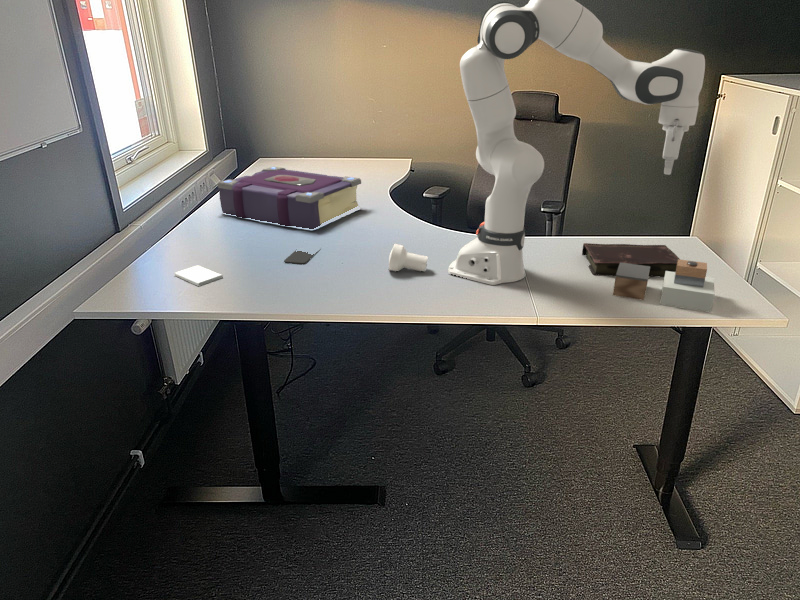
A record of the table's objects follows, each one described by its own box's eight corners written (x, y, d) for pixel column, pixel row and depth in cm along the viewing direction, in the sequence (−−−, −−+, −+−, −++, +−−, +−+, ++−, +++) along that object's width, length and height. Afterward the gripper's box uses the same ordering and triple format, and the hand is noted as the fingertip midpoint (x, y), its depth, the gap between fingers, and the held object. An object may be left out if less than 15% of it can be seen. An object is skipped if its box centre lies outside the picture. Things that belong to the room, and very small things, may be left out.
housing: (703, 287, 156) (707, 268, 154) (673, 283, 159) (677, 264, 157) (703, 280, 161) (707, 261, 158) (674, 276, 163) (678, 257, 161)
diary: (581, 256, 194) (583, 241, 192) (662, 258, 192) (664, 243, 190) (593, 278, 177) (595, 261, 175) (681, 280, 175) (685, 264, 173)
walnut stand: (612, 295, 164) (615, 274, 162) (616, 282, 173) (619, 262, 170) (644, 300, 161) (647, 279, 159) (646, 286, 170) (650, 266, 167)
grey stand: (659, 304, 159) (663, 286, 157) (662, 287, 169) (665, 270, 167) (710, 312, 155) (714, 294, 153) (709, 294, 165) (713, 277, 162)
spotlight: (389, 260, 186) (393, 238, 181) (425, 268, 186) (431, 246, 181) (385, 274, 179) (389, 252, 175) (422, 283, 179) (428, 260, 175)
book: (310, 234, 214) (307, 195, 208) (217, 216, 235) (212, 180, 229) (362, 210, 240) (361, 175, 234) (274, 196, 261) (271, 163, 255)
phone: (321, 247, 200) (305, 263, 186) (322, 249, 200) (305, 265, 187) (300, 245, 201) (282, 261, 188) (300, 248, 202) (282, 263, 188)
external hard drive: (198, 288, 172) (174, 277, 179) (223, 279, 178) (199, 269, 185) (197, 283, 171) (174, 272, 179) (222, 274, 177) (198, 264, 184)
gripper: (690, 123, 147) (679, 179, 153) (691, 112, 164) (681, 163, 170) (662, 121, 149) (652, 177, 155) (666, 111, 166) (657, 161, 172)
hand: (668, 170), depth 162 cm, fingers open, 8 cm apart
